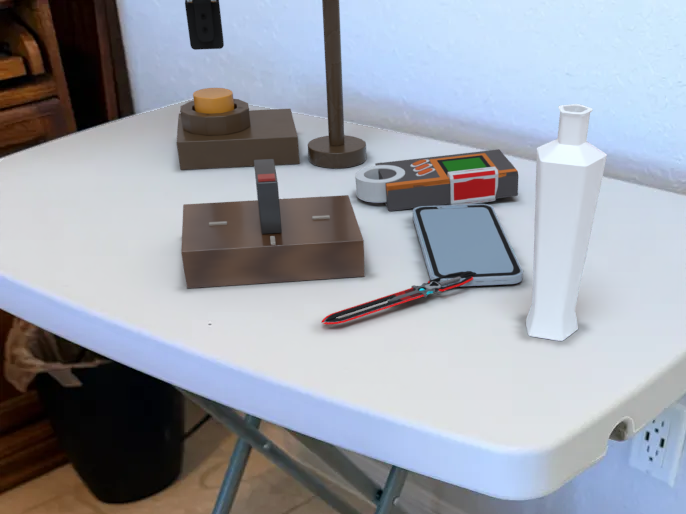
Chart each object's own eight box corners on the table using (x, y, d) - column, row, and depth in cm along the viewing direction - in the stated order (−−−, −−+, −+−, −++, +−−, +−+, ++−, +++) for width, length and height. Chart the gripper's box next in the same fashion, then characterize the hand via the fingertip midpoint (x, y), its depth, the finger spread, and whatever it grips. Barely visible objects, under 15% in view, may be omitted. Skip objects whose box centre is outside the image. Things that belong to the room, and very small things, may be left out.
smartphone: (432, 280, 72) (410, 206, 83) (432, 290, 72) (410, 215, 84) (526, 275, 72) (492, 203, 84) (525, 285, 73) (491, 212, 84)
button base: (180, 170, 93) (173, 123, 90) (182, 139, 101) (175, 95, 98) (299, 163, 95) (296, 117, 92) (292, 134, 102) (289, 90, 99)
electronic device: (350, 162, 88) (503, 145, 90) (352, 193, 90) (502, 175, 92) (361, 187, 83) (523, 168, 85) (363, 219, 85) (521, 200, 87)
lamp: (302, 173, 93) (279, -158, 76) (295, 148, 99) (274, -164, 82) (381, 169, 94) (376, -159, 77) (370, 144, 100) (364, -164, 83)
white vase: (504, 325, 68) (521, 106, 58) (549, 309, 70) (573, 95, 60) (546, 349, 65) (571, 124, 55) (592, 332, 67) (624, 112, 57)
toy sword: (315, 321, 68) (314, 313, 67) (467, 272, 73) (468, 264, 73) (328, 333, 66) (328, 324, 66) (482, 281, 72) (483, 274, 72)
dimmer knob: (258, 209, 77) (253, 156, 74) (277, 207, 77) (273, 155, 74) (261, 234, 73) (256, 179, 70) (281, 233, 73) (277, 178, 70)
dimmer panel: (186, 288, 72) (180, 249, 70) (188, 238, 80) (182, 202, 78) (364, 276, 74) (363, 238, 72) (349, 229, 82) (348, 193, 80)
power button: (195, 117, 93) (192, 99, 92) (195, 106, 96) (192, 88, 95) (235, 115, 94) (233, 97, 93) (234, 104, 97) (232, 86, 96)
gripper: (138, -193, 85) (170, 31, 96) (128, -186, 73) (166, 67, 85) (221, -194, 85) (243, 29, 97) (224, -187, 74) (248, 64, 86)
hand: (207, 46), depth 91 cm, fingers closed
